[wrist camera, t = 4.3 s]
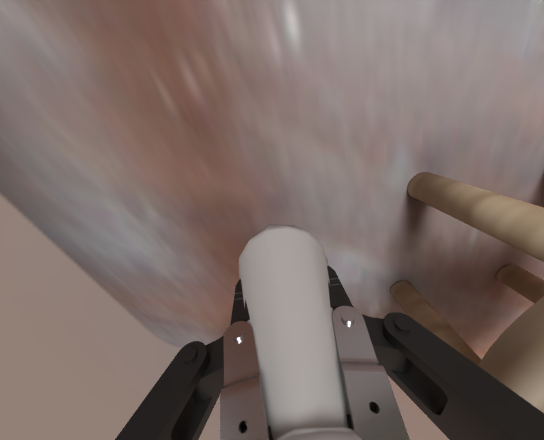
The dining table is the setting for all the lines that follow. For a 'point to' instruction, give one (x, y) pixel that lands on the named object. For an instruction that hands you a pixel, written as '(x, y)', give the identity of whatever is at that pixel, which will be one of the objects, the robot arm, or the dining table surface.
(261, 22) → the dining table surface
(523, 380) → the stool
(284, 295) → the salt shaker
